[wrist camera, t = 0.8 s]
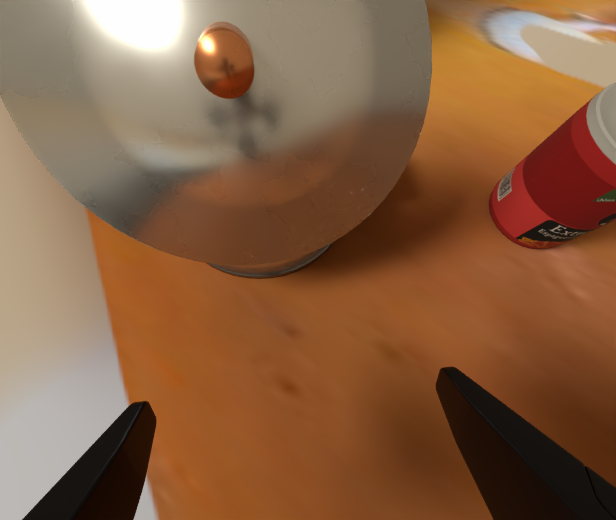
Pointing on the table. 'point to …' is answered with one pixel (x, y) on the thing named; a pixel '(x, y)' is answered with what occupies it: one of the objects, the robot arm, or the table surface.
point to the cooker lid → (220, 114)
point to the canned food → (563, 180)
